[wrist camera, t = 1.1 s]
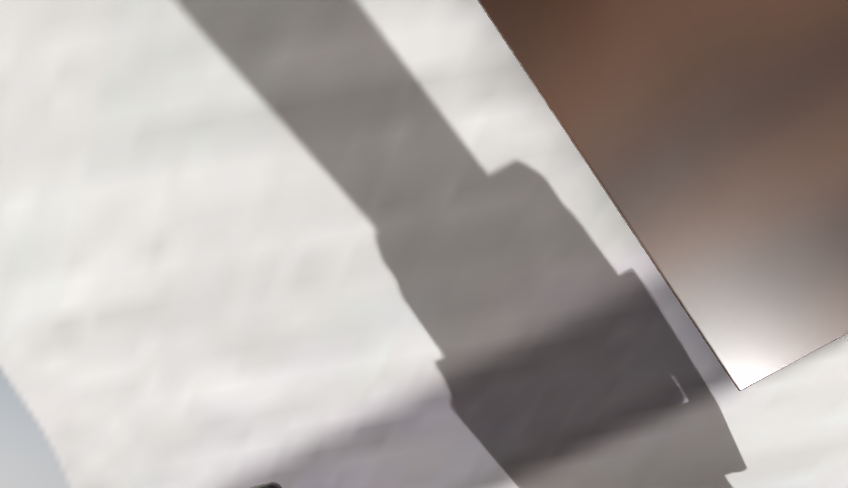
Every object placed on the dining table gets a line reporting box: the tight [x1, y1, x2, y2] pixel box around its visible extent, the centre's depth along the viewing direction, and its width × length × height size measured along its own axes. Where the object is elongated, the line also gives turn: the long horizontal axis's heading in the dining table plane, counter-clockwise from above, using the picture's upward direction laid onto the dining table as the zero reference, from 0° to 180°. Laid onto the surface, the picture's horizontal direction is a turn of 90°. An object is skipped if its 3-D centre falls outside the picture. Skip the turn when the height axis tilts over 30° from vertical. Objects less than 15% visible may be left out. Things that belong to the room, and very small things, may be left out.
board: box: [478, 0, 848, 391], centre depth 22 cm, size 20×13×1 cm, turn 36°
